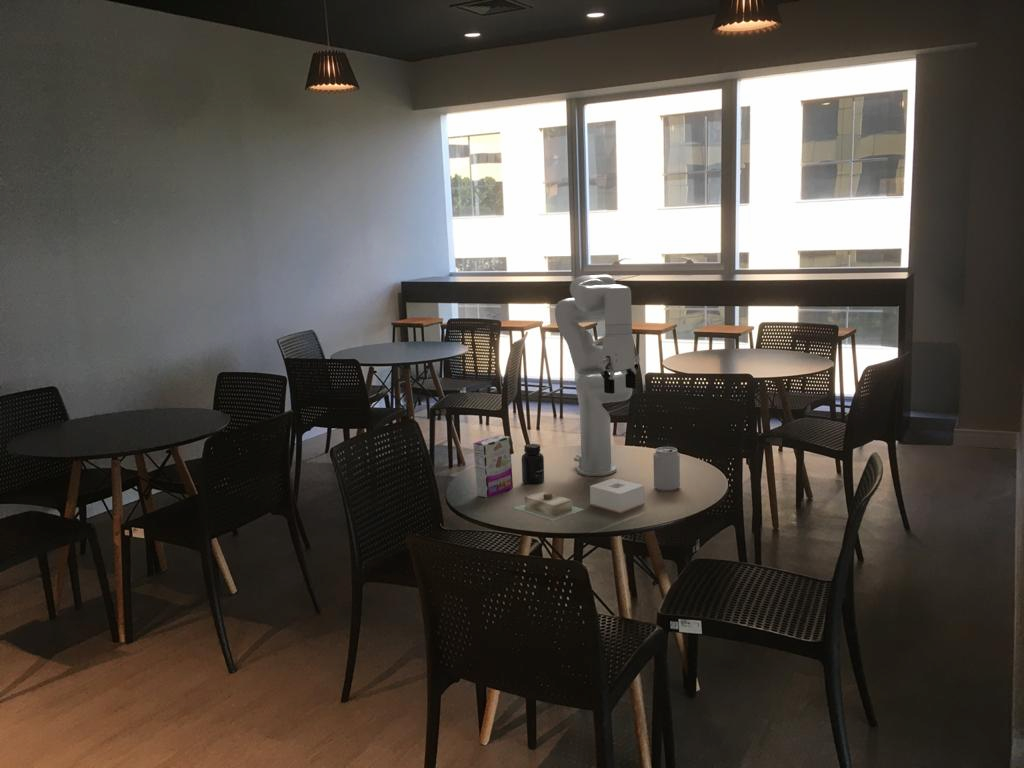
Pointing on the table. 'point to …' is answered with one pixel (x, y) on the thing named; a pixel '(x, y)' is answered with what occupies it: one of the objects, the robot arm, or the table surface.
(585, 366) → the robot arm
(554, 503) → the lid
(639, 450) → the table surface
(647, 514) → the table surface
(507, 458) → the candy bar box
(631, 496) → the gray block
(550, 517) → the mat
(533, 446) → the supplement bottle
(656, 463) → the can
